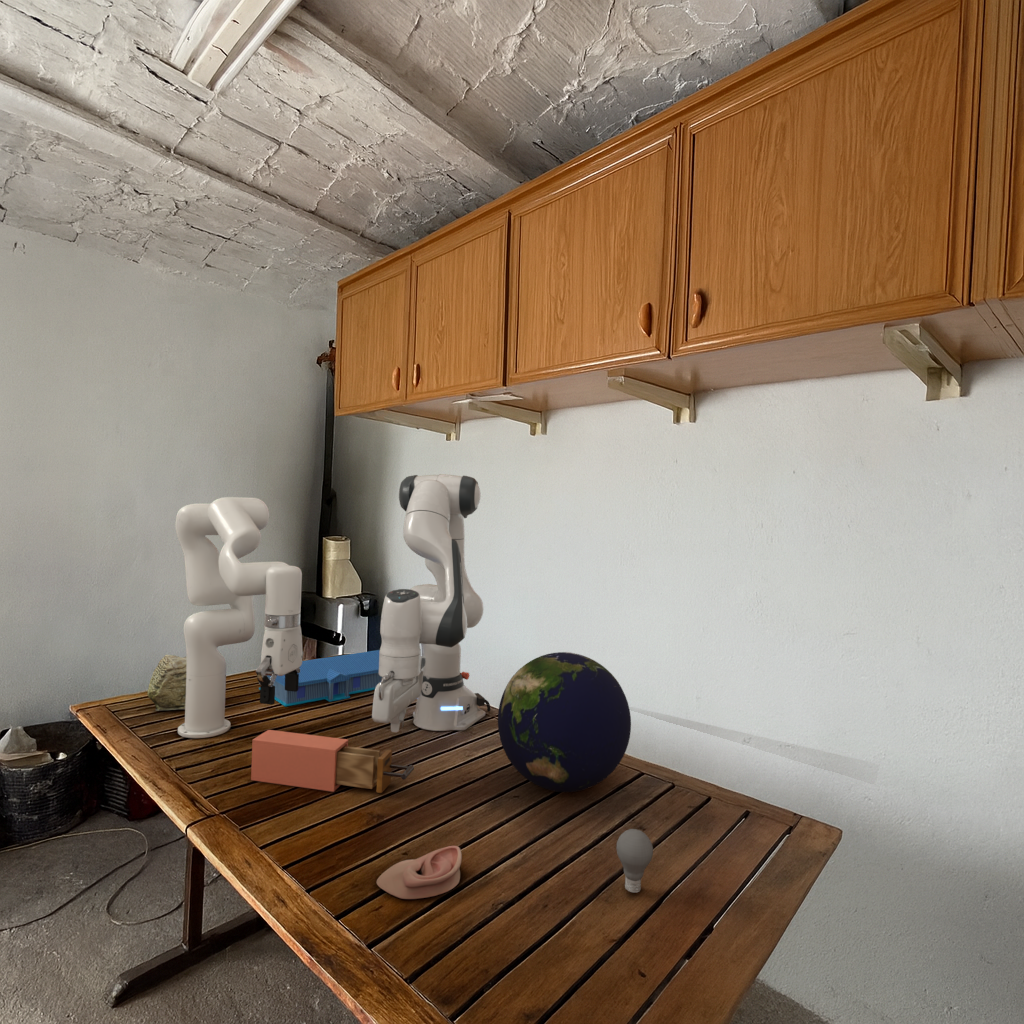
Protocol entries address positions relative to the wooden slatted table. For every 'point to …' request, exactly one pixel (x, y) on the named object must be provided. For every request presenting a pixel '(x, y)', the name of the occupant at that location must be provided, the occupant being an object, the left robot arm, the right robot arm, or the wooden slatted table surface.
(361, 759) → the drawer
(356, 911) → the wooden slatted table surface
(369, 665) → the model building
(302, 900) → the wooden slatted table surface
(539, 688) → the globe
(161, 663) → the fossil
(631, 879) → the light bulb
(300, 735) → the cabinet
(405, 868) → the anatomical model
